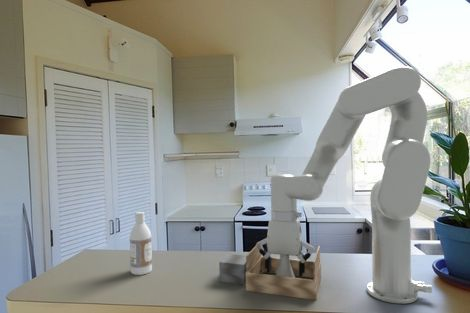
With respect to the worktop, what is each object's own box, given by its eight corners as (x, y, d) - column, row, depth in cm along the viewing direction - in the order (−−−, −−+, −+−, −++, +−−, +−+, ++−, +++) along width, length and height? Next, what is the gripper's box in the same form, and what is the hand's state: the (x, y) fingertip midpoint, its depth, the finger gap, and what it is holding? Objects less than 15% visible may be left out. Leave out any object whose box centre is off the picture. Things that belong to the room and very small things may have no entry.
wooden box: (321, 277, 101) (320, 245, 100) (316, 299, 86) (315, 262, 86) (260, 270, 107) (259, 240, 107) (245, 290, 92) (245, 255, 92)
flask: (297, 290, 92) (296, 255, 92) (271, 288, 94) (271, 254, 93) (297, 280, 99) (297, 247, 99) (274, 278, 101) (273, 246, 101)
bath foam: (143, 276, 104) (141, 215, 104) (126, 273, 107) (124, 213, 107) (156, 269, 111) (154, 211, 110) (140, 266, 113) (138, 210, 113)
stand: (252, 274, 104) (251, 256, 104) (244, 284, 97) (244, 264, 96) (228, 271, 107) (228, 253, 107) (219, 281, 99) (219, 262, 99)
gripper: (315, 214, 97) (315, 271, 97) (259, 212, 102) (260, 265, 103) (312, 220, 90) (313, 281, 90) (252, 216, 95) (253, 274, 96)
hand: (284, 272), depth 96 cm, fingers open, 9 cm apart
